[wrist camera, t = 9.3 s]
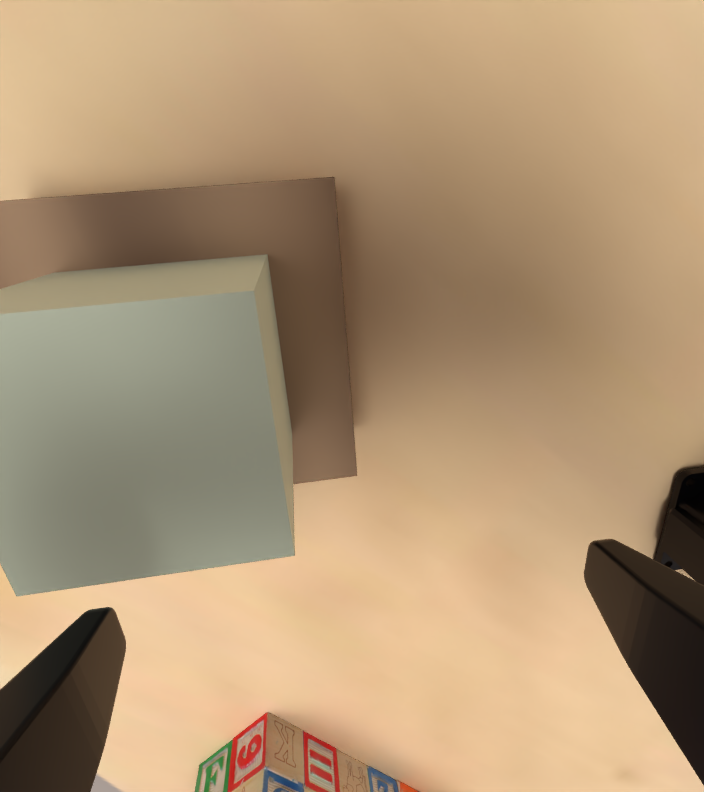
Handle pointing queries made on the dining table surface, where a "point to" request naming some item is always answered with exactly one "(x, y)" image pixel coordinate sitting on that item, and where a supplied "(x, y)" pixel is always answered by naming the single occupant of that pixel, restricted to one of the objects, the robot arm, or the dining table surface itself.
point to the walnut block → (211, 239)
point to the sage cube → (142, 424)
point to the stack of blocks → (287, 764)
